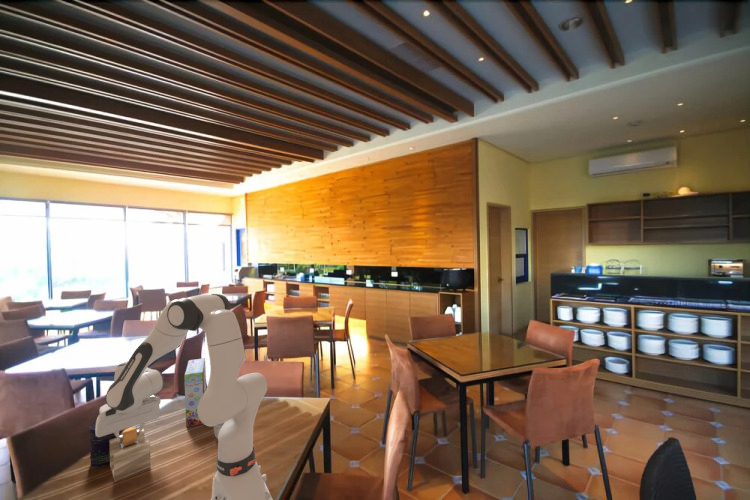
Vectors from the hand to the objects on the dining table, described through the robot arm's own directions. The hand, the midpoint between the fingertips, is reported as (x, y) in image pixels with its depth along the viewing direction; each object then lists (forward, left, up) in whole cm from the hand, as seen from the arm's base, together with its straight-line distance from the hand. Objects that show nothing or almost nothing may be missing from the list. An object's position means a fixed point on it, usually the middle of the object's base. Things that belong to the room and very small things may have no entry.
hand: (129, 437), depth 127 cm
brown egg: (0, 0, -2) cm, 2 cm away
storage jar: (+12, +6, -11) cm, 18 cm away
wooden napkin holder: (0, 0, -11) cm, 11 cm away
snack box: (+23, -31, -11) cm, 40 cm away
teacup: (-6, -36, -11) cm, 38 cm away
